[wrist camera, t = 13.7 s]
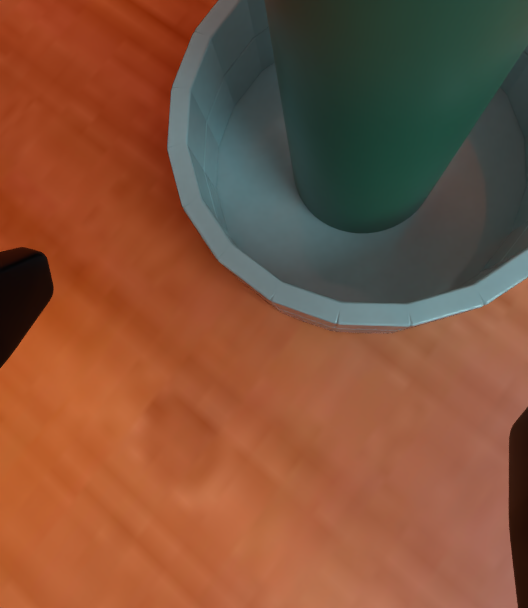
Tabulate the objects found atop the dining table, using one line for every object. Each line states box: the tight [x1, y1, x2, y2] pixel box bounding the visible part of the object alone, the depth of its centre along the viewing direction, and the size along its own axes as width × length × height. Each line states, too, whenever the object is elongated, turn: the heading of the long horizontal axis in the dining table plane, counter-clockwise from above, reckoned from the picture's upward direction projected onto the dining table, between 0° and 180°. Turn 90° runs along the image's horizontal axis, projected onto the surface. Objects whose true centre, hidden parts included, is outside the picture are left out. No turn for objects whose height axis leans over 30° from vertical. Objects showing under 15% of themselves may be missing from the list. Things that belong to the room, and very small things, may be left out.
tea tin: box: [264, 0, 528, 233], centre depth 11 cm, size 6×6×12 cm
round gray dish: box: [167, 0, 528, 333], centre depth 15 cm, size 13×13×4 cm
